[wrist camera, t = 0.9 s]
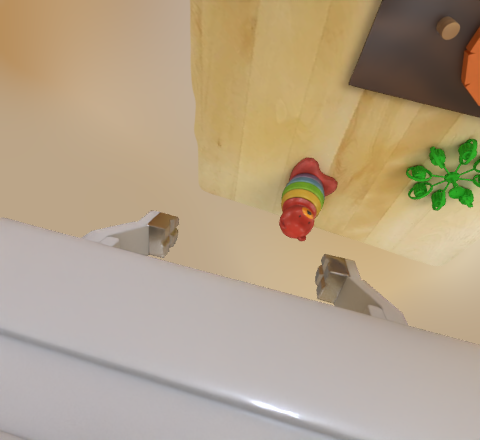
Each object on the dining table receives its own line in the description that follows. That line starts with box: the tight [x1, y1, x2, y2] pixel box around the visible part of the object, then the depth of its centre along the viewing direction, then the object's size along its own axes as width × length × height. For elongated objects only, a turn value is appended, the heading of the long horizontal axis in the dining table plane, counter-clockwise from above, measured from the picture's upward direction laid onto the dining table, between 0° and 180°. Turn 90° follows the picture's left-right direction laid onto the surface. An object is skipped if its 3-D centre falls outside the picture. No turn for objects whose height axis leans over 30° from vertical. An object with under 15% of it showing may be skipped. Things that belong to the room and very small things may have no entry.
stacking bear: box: [279, 158, 337, 241], centre depth 55 cm, size 11×10×18 cm
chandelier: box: [406, 139, 480, 211], centre depth 46 cm, size 15×15×7 cm
